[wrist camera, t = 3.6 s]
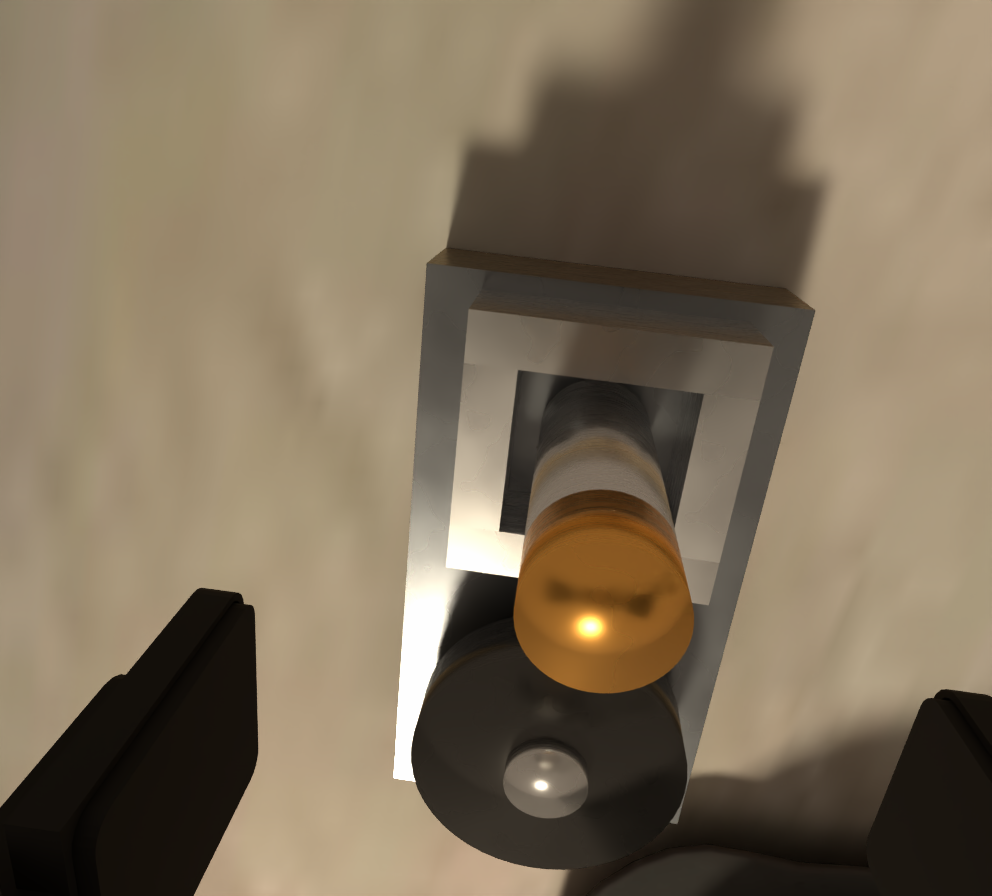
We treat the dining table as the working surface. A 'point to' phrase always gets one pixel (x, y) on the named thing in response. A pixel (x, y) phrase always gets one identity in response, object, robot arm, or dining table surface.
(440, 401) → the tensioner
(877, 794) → the dining table surface
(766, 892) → the casserole
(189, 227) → the dining table surface
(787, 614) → the dining table surface
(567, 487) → the orange and grey cylinder
